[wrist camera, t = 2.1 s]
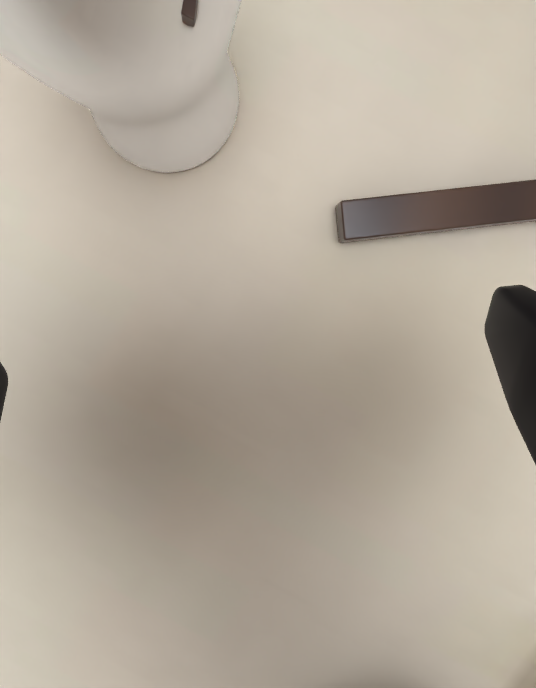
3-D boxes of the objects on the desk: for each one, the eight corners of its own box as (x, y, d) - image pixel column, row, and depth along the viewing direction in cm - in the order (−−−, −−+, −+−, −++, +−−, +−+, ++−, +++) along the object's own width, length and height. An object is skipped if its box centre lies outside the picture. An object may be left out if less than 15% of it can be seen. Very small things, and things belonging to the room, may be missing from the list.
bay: (338, 243, 21) (344, 240, 19) (307, -94, 19) (311, -120, 18) (614, 212, 21) (637, 207, 20) (607, -120, 19) (630, -146, 18)
